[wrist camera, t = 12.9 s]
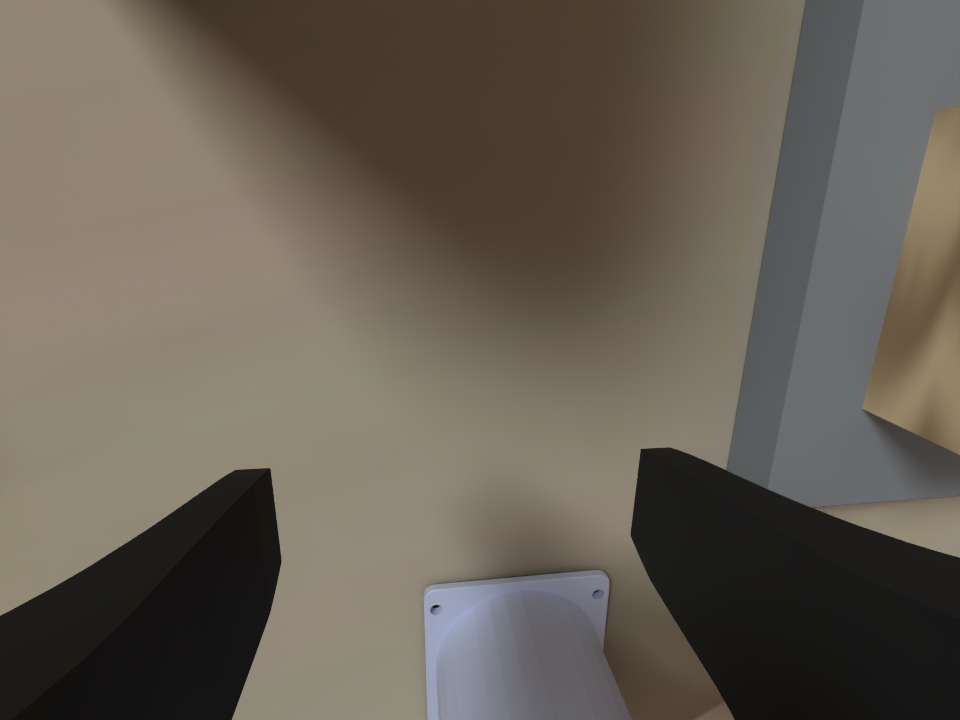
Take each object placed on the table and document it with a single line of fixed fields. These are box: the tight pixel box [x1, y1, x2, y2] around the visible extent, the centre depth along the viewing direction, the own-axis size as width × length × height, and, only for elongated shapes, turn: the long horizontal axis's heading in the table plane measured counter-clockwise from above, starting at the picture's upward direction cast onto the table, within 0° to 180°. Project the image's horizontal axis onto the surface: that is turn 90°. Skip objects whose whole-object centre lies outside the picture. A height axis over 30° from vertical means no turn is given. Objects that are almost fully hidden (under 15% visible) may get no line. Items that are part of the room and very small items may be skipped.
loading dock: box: [727, 0, 960, 507], centre depth 19 cm, size 18×12×3 cm, turn 0°
